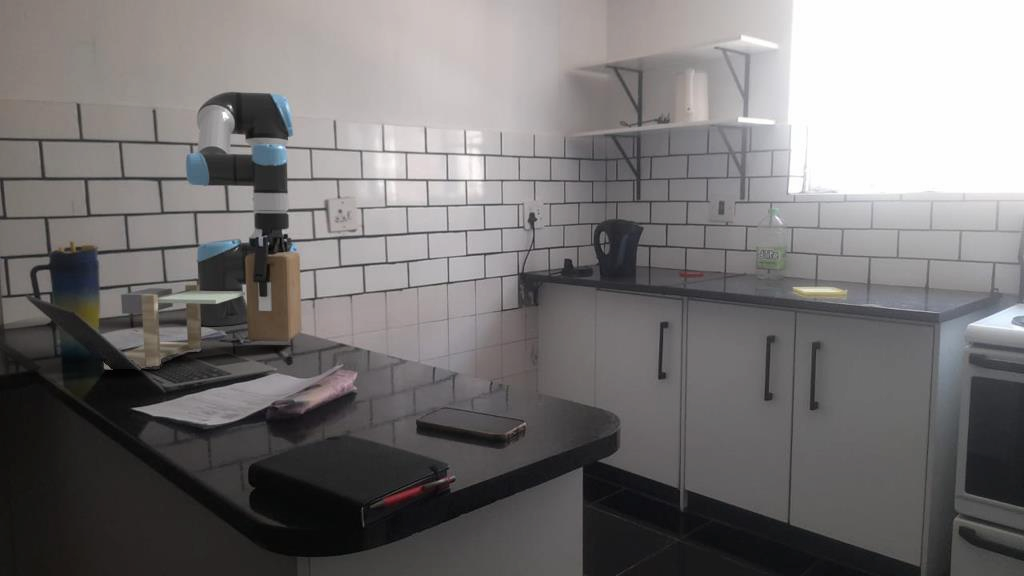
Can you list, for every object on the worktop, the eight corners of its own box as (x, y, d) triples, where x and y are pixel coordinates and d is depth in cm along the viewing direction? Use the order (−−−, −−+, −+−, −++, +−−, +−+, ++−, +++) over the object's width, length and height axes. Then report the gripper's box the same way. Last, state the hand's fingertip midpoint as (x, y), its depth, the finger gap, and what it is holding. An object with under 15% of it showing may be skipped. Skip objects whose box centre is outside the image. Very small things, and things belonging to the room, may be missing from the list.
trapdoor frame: (154, 350, 169) (151, 283, 167) (202, 351, 168) (199, 284, 166) (104, 369, 150) (99, 294, 148) (157, 370, 149) (153, 295, 148)
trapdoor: (154, 305, 165) (153, 287, 165) (245, 306, 164) (244, 288, 163) (117, 314, 151) (116, 295, 151) (216, 316, 150) (215, 297, 149)
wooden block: (289, 342, 168) (287, 255, 165) (246, 341, 168) (243, 254, 165) (302, 333, 178) (300, 251, 175) (262, 332, 178) (259, 251, 175)
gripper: (274, 210, 180) (277, 299, 183) (234, 213, 158) (238, 314, 161) (304, 211, 180) (306, 300, 183) (268, 213, 158) (271, 315, 160)
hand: (274, 306), depth 172 cm, fingers closed on wooden block, 10 cm apart
